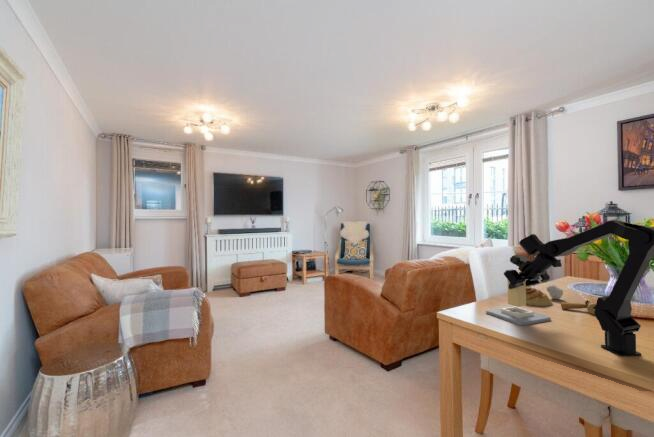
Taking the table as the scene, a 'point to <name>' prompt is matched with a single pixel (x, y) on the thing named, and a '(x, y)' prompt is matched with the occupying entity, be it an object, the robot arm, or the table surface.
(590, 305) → the kendama
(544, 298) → the pastry
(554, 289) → the frog figurine
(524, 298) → the pillar
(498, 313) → the baseplate
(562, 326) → the table surface
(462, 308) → the table surface
